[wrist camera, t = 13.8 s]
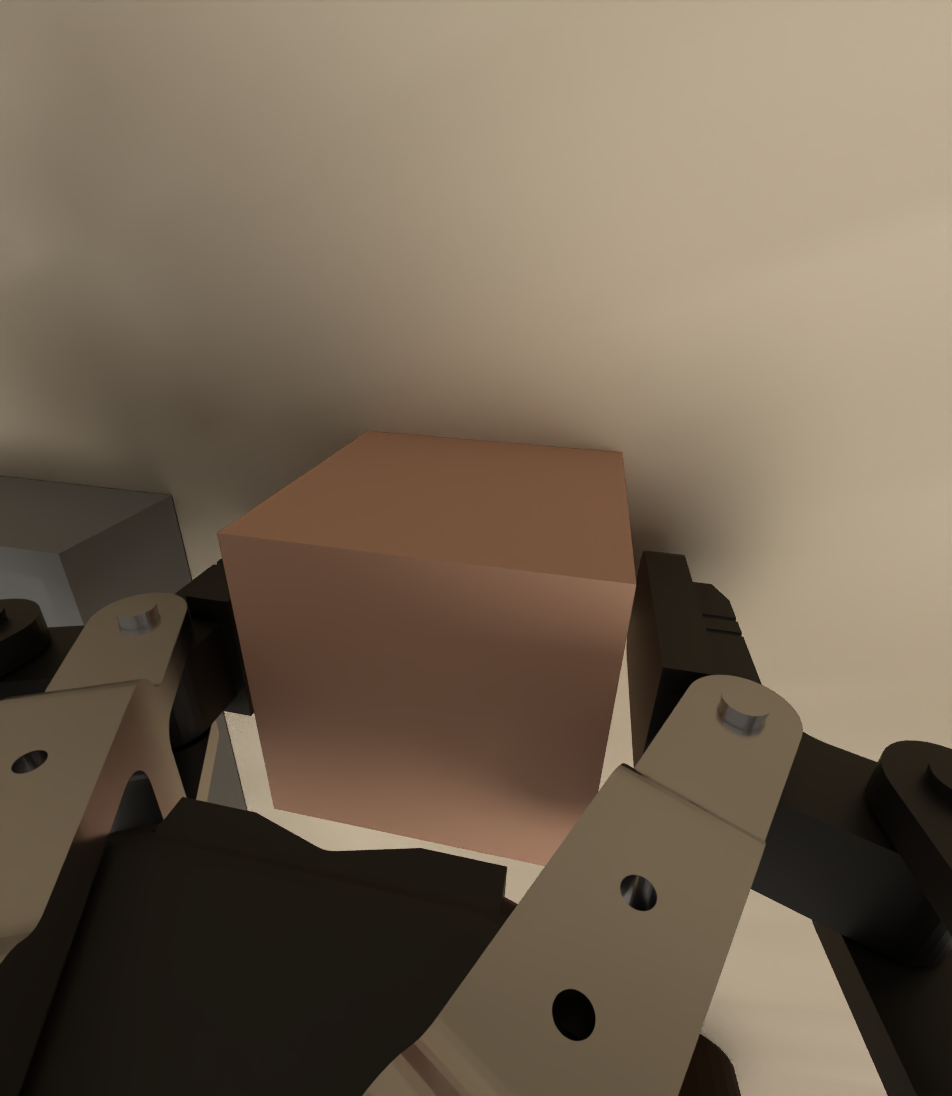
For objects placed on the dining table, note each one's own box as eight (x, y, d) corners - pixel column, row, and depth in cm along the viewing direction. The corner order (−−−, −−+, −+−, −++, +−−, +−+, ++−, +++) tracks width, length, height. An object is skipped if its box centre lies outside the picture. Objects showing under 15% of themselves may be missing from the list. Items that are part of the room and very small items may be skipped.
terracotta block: (368, 430, 11) (216, 533, 7) (622, 451, 10) (636, 584, 6) (381, 632, 13) (274, 808, 9) (589, 663, 13) (582, 873, 8)
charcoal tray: (-261, 446, 15) (-445, 483, 12) (170, 495, 13) (58, 554, 10) (-19, 851, 23) (-100, 927, 20) (274, 925, 21) (226, 1022, 18)
